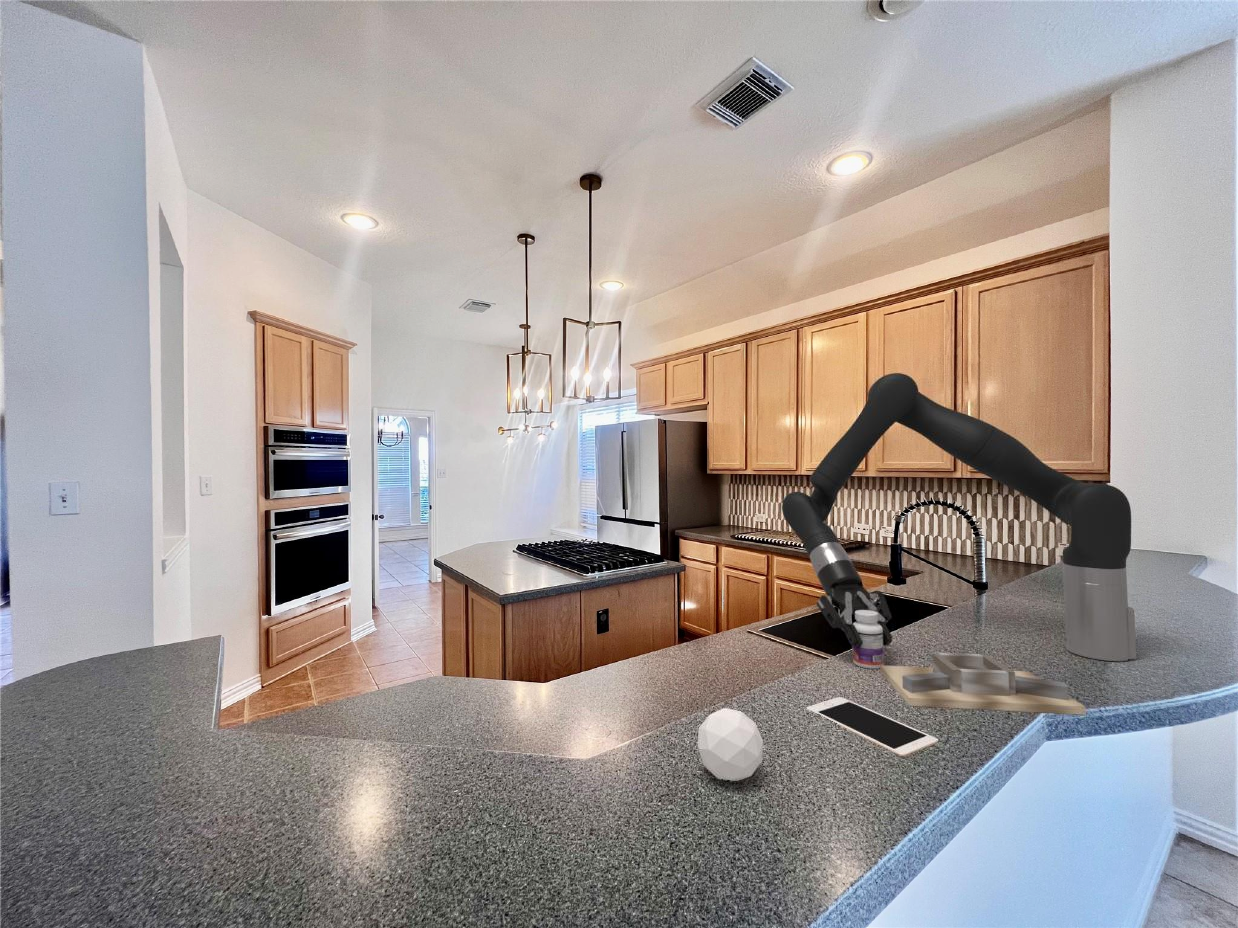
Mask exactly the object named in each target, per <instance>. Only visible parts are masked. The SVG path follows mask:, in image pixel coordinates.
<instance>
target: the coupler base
mask: <svg viewBox="0 0 1238 928" xmlns="http://www.w3.org/2000/svg"><path fill="white" fill-rule="evenodd" d="M931 655H932V656H931V658H932V662H931V663H932V667H928V666H927V667H923V666H921V667H920V666H902V665H901V666H900V665H899V666H898V665H897V666H895V665H884V666H880V668H879V669H880V671H879V672H880V674H882V676H883V678H885V680H887V681H888V683H889V684H890V685H891V686H892V687H893V688H894V689H895V691H896V692H897V693H898V694H899V695H900V697H901V698H902V699H903V700H904V701H905V702H906V703H907V705H908V706H910V707H925V708H926V707H929V708H947V709H948V708H949V709H965V710H966V709H969V710H970V709H971V710H986V711H988V710H989V711H1003V712H1004V711H1005V712H1024V713H1025V712H1026V713H1027V712H1028V713H1043V714H1060V715H1061V714H1063V715H1082V716H1084V715H1087V714H1086V711H1087V710H1086V706H1085V705H1083V704H1082V703H1080V702H1078V701H1077V700H1076V699H1074V698H1072V697H1071V696H1069V689H1068V688H1069V687H1068V686H1067V684H1066V682H1064V681H1057V680H1050V679H1043V678H1042V679H1041V678H1040V677H1038V676H1037V675H1035V674H1033V673H1032V672H1031V671H1028V670H1027V671H1023V670H1012V669H1011V668H1009V667H1008V666H1006V665H1004V664H1003V663H1002V662H1000V661H999V660H996V659H995V658H994V657H992V656H990V655H988V654H987V655H985V654H984V655H982V654H979V653H960V652H959V653H958V652H957V653H955V652H938V653H931Z"/></svg>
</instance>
